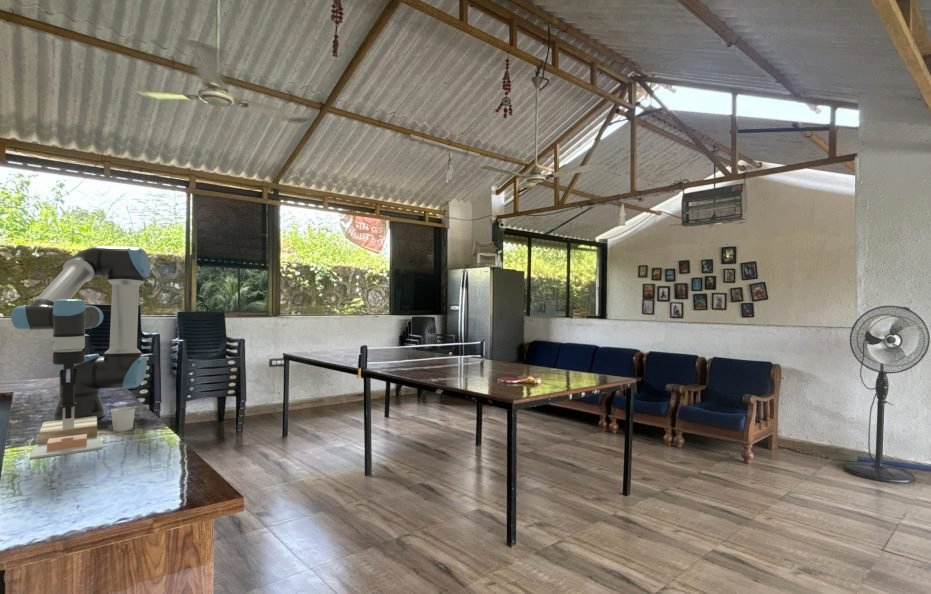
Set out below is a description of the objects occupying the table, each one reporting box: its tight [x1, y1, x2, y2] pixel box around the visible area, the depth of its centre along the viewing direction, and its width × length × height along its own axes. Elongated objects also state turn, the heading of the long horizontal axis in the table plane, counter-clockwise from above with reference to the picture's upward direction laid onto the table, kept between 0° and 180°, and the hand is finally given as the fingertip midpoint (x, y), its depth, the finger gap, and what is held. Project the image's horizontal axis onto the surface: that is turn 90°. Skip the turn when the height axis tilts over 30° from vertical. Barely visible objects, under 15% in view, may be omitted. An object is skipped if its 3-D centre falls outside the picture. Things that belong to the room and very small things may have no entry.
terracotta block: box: [47, 434, 87, 451], centre depth 147 cm, size 6×9×2 cm, turn 127°
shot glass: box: [110, 406, 136, 432], centre depth 169 cm, size 7×7×7 cm
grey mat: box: [29, 436, 103, 460], centre depth 147 cm, size 14×16×1 cm
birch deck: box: [38, 416, 98, 445], centre depth 160 cm, size 16×14×4 cm
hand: (68, 428), depth 149 cm, fingers closed
